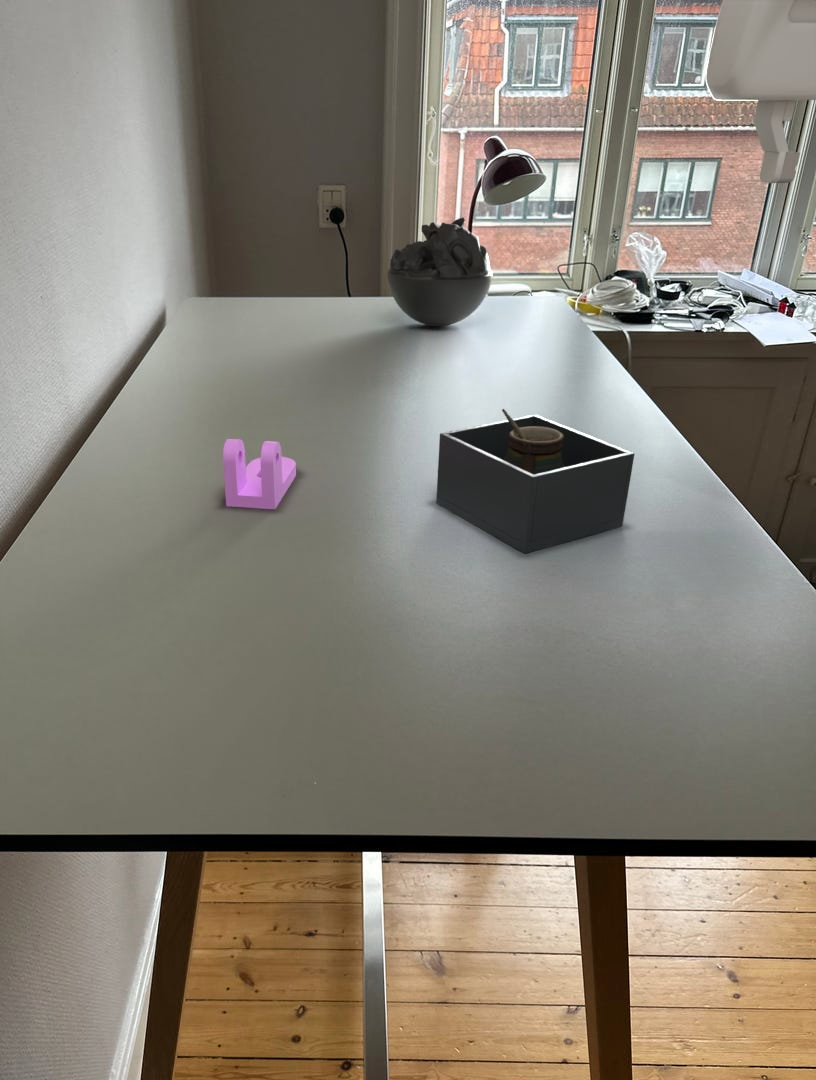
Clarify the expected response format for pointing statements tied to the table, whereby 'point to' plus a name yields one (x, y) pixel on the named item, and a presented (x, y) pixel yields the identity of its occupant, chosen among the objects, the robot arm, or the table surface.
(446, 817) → the table surface
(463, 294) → the grey filled bowl
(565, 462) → the waste bin
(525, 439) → the mate gourd
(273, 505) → the bracket
